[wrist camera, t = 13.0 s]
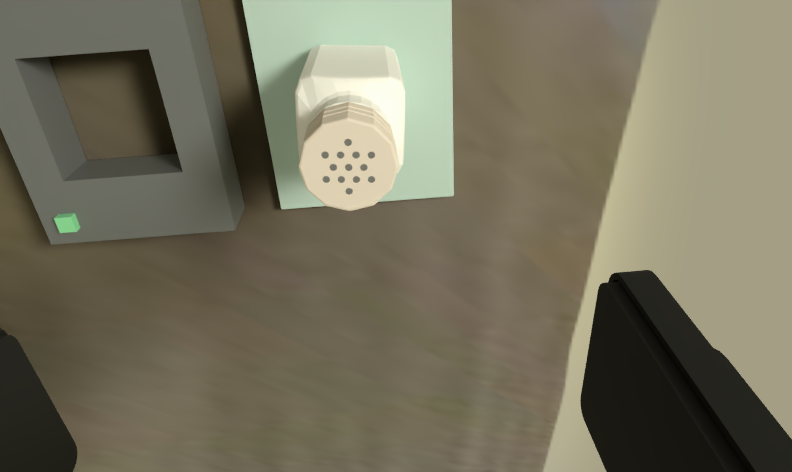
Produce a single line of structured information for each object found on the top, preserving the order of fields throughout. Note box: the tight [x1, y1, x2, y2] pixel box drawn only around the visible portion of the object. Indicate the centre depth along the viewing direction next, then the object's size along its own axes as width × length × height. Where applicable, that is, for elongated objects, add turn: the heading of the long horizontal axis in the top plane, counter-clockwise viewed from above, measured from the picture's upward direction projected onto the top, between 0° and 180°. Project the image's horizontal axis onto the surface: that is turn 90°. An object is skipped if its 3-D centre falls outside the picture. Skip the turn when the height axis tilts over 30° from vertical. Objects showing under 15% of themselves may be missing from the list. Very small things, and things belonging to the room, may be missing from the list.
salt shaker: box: [295, 45, 405, 211], centre depth 22 cm, size 4×4×10 cm
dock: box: [0, 0, 245, 245], centre depth 24 cm, size 18×9×3 cm, turn 4°
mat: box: [242, 0, 454, 209], centre depth 26 cm, size 12×9×1 cm
